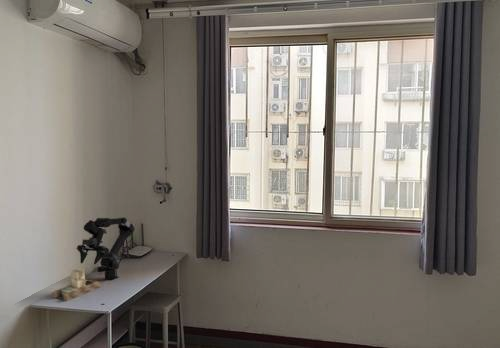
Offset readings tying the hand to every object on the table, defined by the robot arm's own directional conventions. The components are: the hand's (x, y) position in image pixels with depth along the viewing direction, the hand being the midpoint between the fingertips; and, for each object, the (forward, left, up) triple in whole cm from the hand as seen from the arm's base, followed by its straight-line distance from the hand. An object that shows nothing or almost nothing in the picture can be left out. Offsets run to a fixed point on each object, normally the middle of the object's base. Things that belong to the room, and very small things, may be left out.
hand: (87, 263), depth 239 cm
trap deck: (+6, -3, -15) cm, 16 cm away
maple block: (+5, -3, -12) cm, 13 cm away
